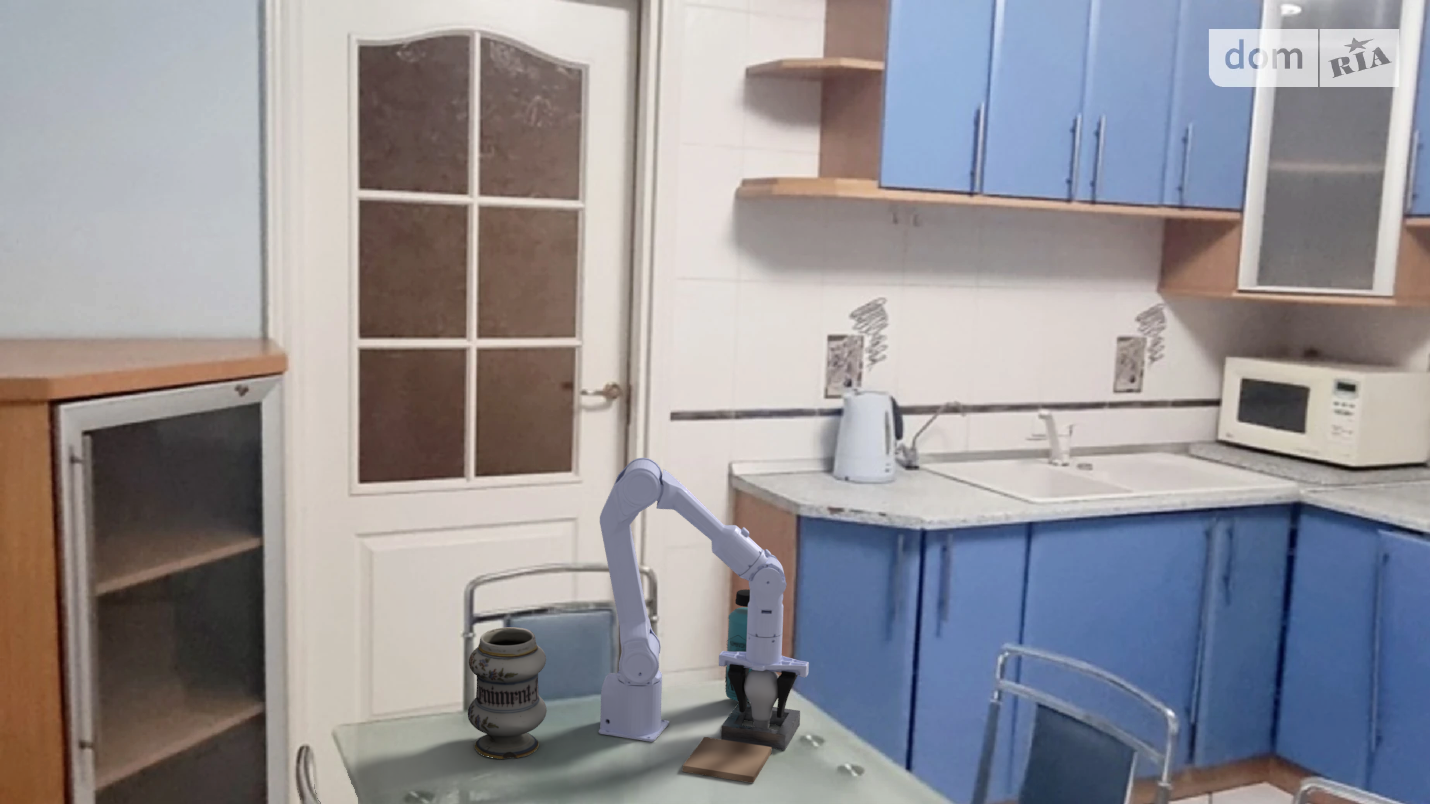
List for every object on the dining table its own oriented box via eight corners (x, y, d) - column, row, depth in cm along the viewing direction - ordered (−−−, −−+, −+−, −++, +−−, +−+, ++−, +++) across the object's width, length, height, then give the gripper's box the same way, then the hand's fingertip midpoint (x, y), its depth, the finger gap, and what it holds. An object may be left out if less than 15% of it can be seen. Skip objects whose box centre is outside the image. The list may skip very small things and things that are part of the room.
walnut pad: (682, 771, 180) (682, 765, 180) (704, 742, 191) (704, 736, 191) (753, 783, 177) (753, 776, 177) (771, 753, 188) (771, 747, 188)
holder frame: (720, 740, 192) (721, 725, 192) (738, 716, 202) (739, 701, 202) (784, 750, 189) (785, 735, 189) (799, 725, 199) (800, 710, 199)
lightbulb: (776, 742, 192) (779, 676, 190) (739, 738, 193) (741, 672, 192) (782, 727, 198) (784, 663, 196) (745, 723, 199) (748, 659, 197)
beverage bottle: (726, 694, 211) (730, 584, 208) (764, 697, 210) (768, 587, 208) (721, 708, 205) (725, 595, 202) (760, 712, 204) (764, 598, 201)
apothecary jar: (475, 767, 180) (475, 652, 177) (461, 735, 191) (461, 626, 188) (554, 757, 184) (555, 644, 182) (536, 726, 195) (537, 619, 193)
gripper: (714, 634, 191) (711, 715, 193) (803, 645, 187) (799, 728, 189) (726, 621, 198) (724, 699, 200) (812, 631, 194) (809, 712, 196)
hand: (761, 712), depth 195 cm, fingers closed on lightbulb, 6 cm apart
